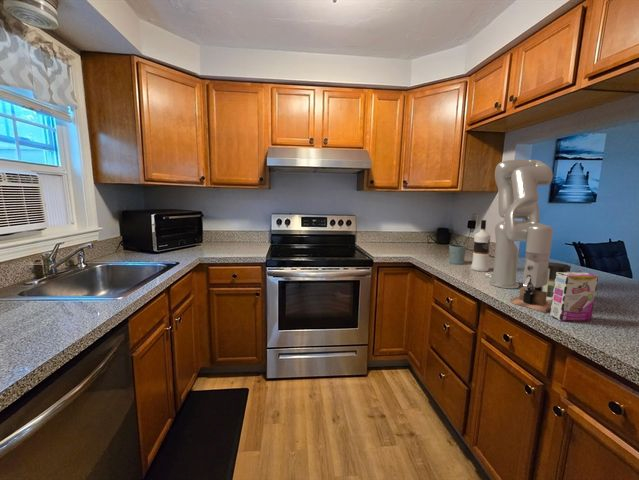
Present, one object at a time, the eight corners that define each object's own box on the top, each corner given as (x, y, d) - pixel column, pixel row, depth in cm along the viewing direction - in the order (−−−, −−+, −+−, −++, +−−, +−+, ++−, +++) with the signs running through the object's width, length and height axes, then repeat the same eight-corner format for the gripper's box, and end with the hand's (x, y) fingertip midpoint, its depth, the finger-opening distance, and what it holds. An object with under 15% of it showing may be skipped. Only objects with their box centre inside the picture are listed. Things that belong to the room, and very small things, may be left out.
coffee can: (571, 297, 122) (575, 265, 120) (560, 301, 117) (564, 268, 115) (543, 290, 131) (546, 261, 129) (531, 294, 126) (535, 263, 124)
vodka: (474, 267, 175) (478, 219, 171) (491, 270, 168) (495, 220, 164) (468, 269, 170) (471, 219, 166) (484, 272, 162) (489, 220, 158)
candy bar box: (561, 322, 97) (567, 275, 95) (549, 316, 102) (554, 271, 100) (592, 321, 97) (599, 275, 95) (579, 315, 102) (585, 271, 100)
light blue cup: (461, 262, 191) (462, 244, 189) (467, 265, 181) (469, 247, 180) (445, 261, 192) (447, 244, 190) (451, 265, 182) (452, 246, 181)
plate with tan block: (510, 302, 115) (511, 287, 114) (519, 299, 119) (520, 284, 118) (545, 312, 105) (547, 295, 104) (554, 308, 109) (556, 292, 108)
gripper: (538, 261, 102) (533, 309, 104) (558, 256, 110) (552, 300, 113) (515, 257, 108) (510, 302, 110) (535, 253, 117) (531, 295, 119)
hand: (532, 301), depth 112 cm, fingers open, 5 cm apart
